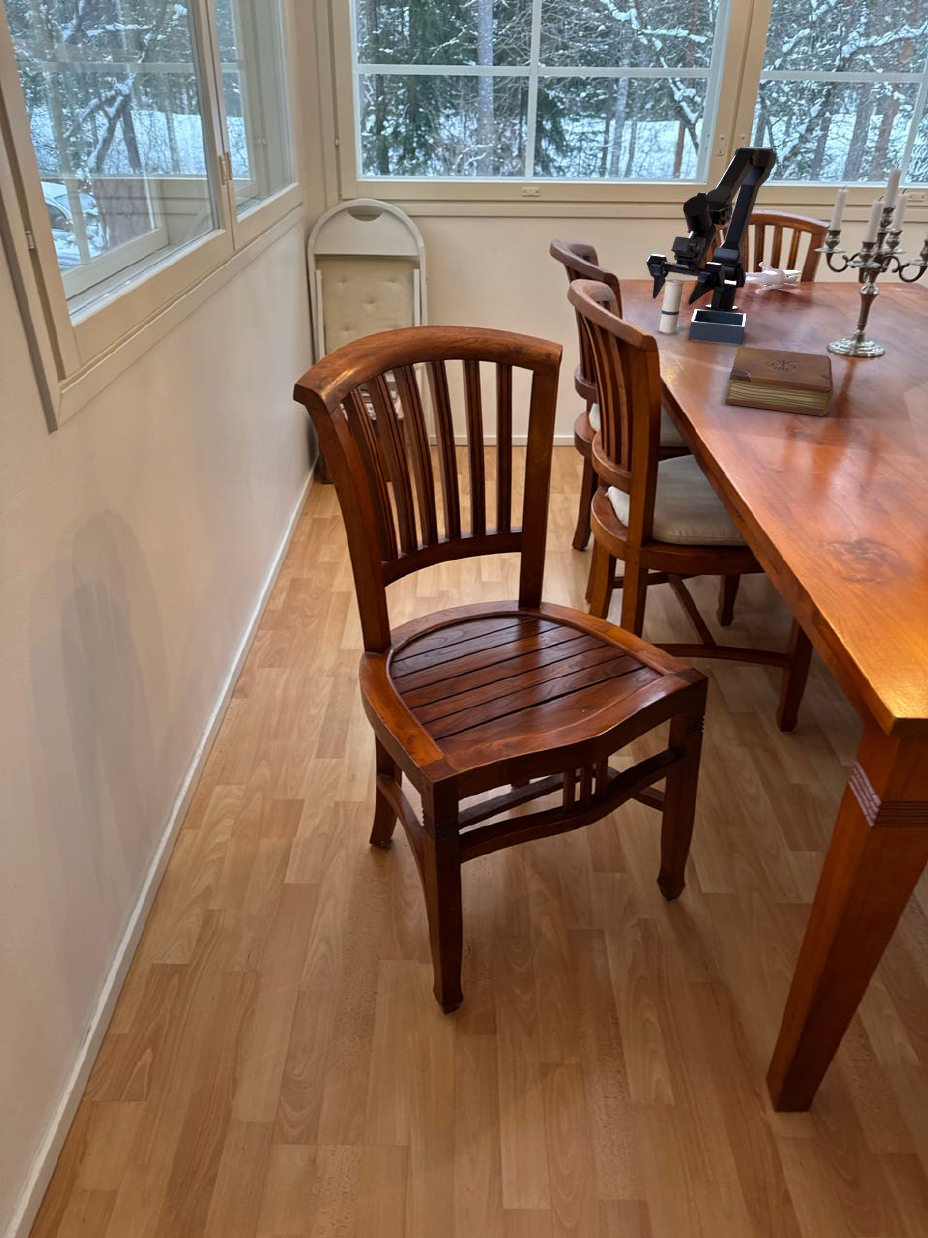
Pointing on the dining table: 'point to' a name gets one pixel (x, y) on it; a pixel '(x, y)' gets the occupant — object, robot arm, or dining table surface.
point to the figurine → (773, 279)
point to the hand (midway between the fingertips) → (671, 300)
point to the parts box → (717, 326)
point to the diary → (781, 381)
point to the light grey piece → (671, 305)
